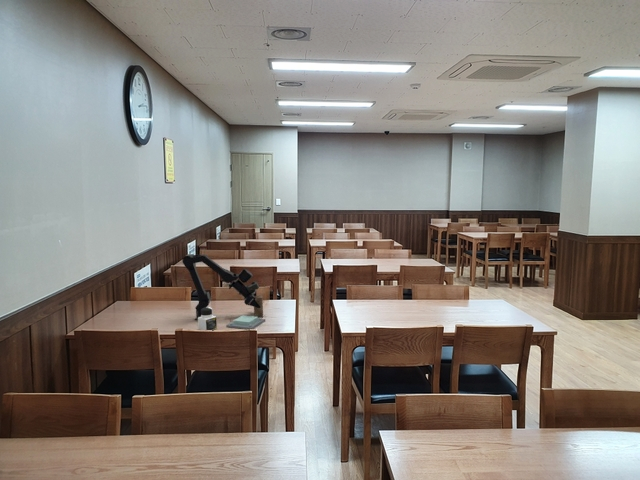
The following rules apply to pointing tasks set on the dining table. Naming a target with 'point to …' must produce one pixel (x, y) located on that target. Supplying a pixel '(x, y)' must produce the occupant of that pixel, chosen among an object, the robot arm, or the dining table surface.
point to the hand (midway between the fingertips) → (260, 305)
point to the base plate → (246, 322)
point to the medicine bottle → (207, 319)
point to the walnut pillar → (259, 311)
